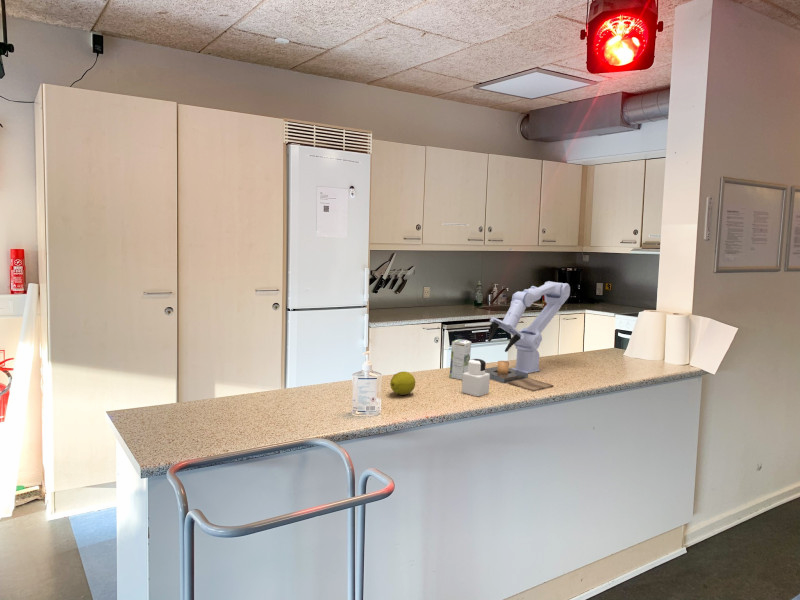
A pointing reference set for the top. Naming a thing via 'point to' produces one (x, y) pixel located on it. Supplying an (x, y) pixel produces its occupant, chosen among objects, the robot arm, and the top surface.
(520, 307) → the robot arm
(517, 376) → the socket block
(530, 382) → the walnut board
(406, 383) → the lemon
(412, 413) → the top surface
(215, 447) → the top surface
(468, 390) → the medicine bottle
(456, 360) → the syrup box
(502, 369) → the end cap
